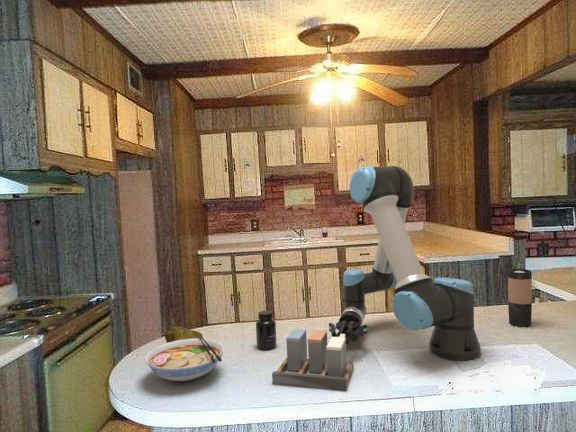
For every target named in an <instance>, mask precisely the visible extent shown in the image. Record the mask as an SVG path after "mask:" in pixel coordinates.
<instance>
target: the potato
mask: <svg viewBox="0 0 576 432" xmlns="http://www.w3.org/2000/svg"><path fill="white" fill-rule="evenodd" d="M199 334H200V335H201V336H202V338H203V339H204V337H203V334H202V333H201V332H200V331H198V330H194V329H193V330H192V329H187V328H184V326H183V327H182V326H173V327H171V328H169V329H167V330H166V332H165V334H164V339H165V341H166V343H169V342H173V341H177V340H184V339H194V338H195V339H200V338H201V336H200V335H199ZM198 335H199V337H200V338H199V337H198ZM202 338H201V339H202Z"/></svg>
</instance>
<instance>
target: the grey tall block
mask: <svg viewBox="0 0 576 432" xmlns="http://www.w3.org/2000/svg"><path fill="white" fill-rule="evenodd" d="M326 349H327V373H328V376H336V377H345V374H346V371H347V369H348V367H347V366H348V365H347V344H346V337H332V336H331V338H330V339H329V341H328V342H327V347H326Z"/></svg>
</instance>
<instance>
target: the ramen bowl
mask: <svg viewBox="0 0 576 432" xmlns="http://www.w3.org/2000/svg"><path fill="white" fill-rule="evenodd" d="M199 335H200V334H199ZM199 335H198V337H199ZM200 336H201V335H200ZM202 336H203V335H202ZM202 336H201V338H202ZM199 338H200V337H199ZM201 338H200V339H195V338H194V339H184V340H177V341H173V342H169V343H167V342H166V343H163V344H160V345H158V346H156V347H153V348H152V349H150V351H147V353H146V354H145V357H144V362H145V363H146V365H147V366H148V367H149V368H150V369H151V371H152V372H153V373H154V374H155V375H156V376H157V377H159V378H162V379H166V380H168V381H173V382H174V381H175V382H176V381H177V382H189V381H193V380H195V379H197V378H200V377H202V376H204V375H206V374H208V373H209V372H211V371H212V370H213V369H214V368H215V366H216V365H217V364H218V363H219V362H222V361H223V359H222V356H223V354H224V350H225V349H224V344H223V343H220V342H219V341H218V340H214V339H209V338H204V337H203V338H202V339H201Z"/></svg>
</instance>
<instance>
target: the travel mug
mask: <svg viewBox="0 0 576 432" xmlns="http://www.w3.org/2000/svg"><path fill="white" fill-rule="evenodd" d="M532 293H533V291H532V271H531V269H530V270H529V269H526V268H525V269H524V268H510V269H509V270H508V271H507V305H508V307H507V308H508V323H509V325H510V324H511V325H510V326H512V325H513V326H512V327H515V326H517V327H516V328H521V327H526V328H530V327H531V326H532V315H533V314H532V313H533V312H532V310H533V309H532V308H533V307H532V306H533V298H532V296H533V294H532ZM529 326H530V327H529Z"/></svg>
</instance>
